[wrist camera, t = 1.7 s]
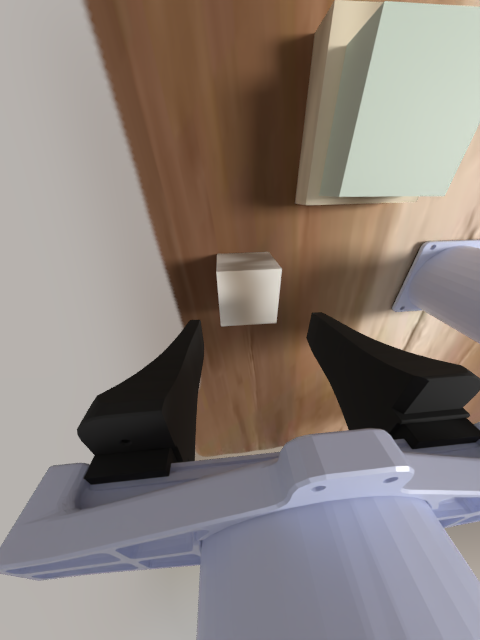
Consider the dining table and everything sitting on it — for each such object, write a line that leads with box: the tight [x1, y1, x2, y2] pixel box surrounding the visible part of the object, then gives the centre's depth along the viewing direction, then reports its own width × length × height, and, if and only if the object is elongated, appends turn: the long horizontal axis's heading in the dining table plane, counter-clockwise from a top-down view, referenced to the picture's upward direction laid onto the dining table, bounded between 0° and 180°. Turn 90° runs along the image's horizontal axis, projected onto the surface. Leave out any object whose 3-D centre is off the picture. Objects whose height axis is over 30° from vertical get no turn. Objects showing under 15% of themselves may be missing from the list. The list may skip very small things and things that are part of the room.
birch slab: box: [295, 0, 480, 205], centre depth 14 cm, size 9×9×3 cm
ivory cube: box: [216, 252, 282, 326], centre depth 18 cm, size 5×5×5 cm
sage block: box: [319, 1, 480, 197], centre depth 12 cm, size 7×7×3 cm
